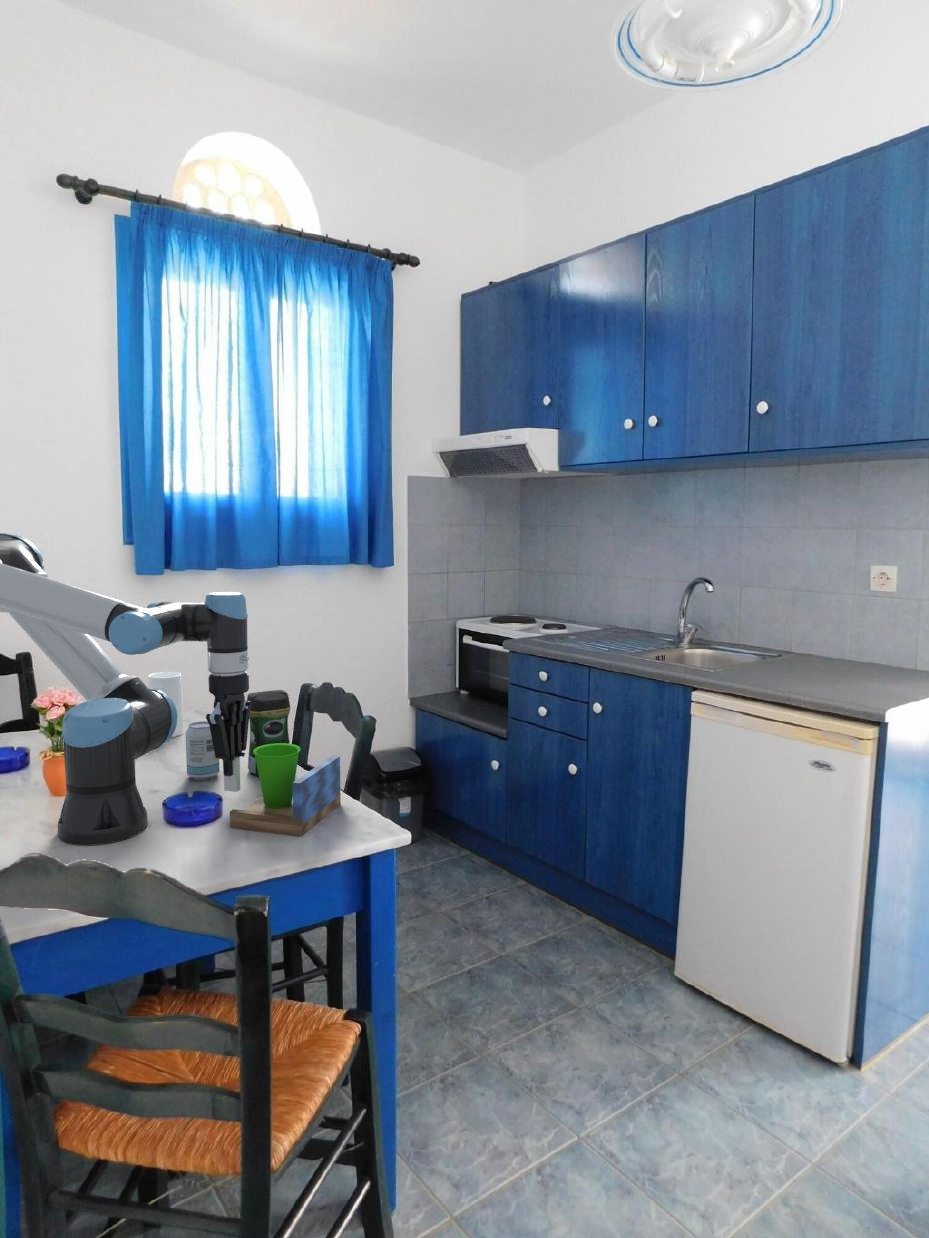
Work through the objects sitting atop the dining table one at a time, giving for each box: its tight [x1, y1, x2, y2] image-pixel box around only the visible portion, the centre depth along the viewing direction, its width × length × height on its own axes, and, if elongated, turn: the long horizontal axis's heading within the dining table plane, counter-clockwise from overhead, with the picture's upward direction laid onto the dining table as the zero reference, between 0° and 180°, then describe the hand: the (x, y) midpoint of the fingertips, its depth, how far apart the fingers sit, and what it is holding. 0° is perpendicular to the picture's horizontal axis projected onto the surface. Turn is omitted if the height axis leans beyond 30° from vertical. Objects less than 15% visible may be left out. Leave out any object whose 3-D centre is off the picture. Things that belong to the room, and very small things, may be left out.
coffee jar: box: [246, 689, 291, 777], centre depth 183 cm, size 10×8×19 cm
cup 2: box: [253, 743, 302, 809], centre depth 156 cm, size 9×9×11 cm
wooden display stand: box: [229, 755, 342, 837], centre depth 156 cm, size 17×14×10 cm
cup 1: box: [147, 671, 184, 738], centre depth 214 cm, size 8×8×16 cm
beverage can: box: [185, 720, 221, 782], centre depth 178 cm, size 7×7×12 cm
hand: (232, 789), depth 159 cm, fingers closed
